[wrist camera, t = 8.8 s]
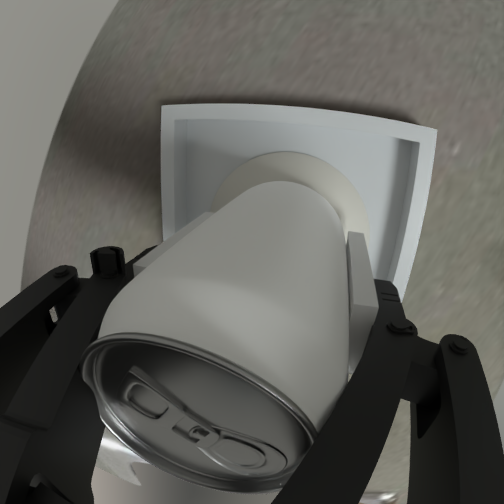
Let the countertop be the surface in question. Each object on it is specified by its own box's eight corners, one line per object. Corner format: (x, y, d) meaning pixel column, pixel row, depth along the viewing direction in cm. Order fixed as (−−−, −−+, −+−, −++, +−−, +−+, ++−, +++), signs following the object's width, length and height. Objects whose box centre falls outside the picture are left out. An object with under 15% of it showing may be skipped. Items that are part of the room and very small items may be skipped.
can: (296, 314, 18) (238, 512, 7) (204, 249, 18) (58, 401, 7) (370, 230, 15) (415, 444, 4) (265, 153, 15) (91, 233, 4)
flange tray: (183, 308, 22) (170, 325, 20) (179, 106, 16) (161, 105, 14) (377, 343, 19) (379, 364, 17) (425, 129, 13) (437, 129, 12)
